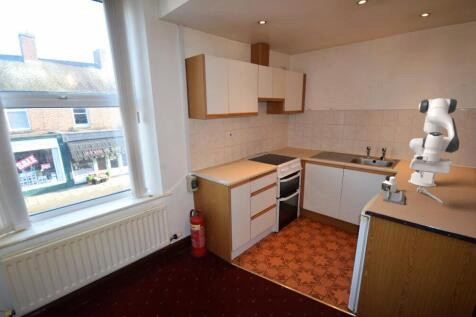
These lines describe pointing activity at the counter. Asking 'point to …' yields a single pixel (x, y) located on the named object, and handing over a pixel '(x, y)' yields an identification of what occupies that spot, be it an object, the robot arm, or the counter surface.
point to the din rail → (399, 198)
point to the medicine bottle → (389, 184)
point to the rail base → (393, 198)
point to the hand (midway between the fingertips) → (427, 177)
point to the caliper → (427, 193)
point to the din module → (427, 177)
